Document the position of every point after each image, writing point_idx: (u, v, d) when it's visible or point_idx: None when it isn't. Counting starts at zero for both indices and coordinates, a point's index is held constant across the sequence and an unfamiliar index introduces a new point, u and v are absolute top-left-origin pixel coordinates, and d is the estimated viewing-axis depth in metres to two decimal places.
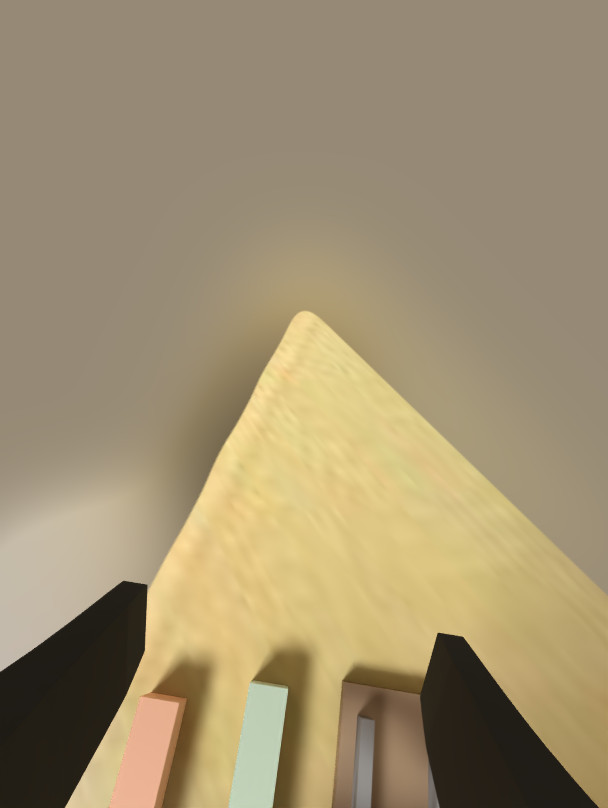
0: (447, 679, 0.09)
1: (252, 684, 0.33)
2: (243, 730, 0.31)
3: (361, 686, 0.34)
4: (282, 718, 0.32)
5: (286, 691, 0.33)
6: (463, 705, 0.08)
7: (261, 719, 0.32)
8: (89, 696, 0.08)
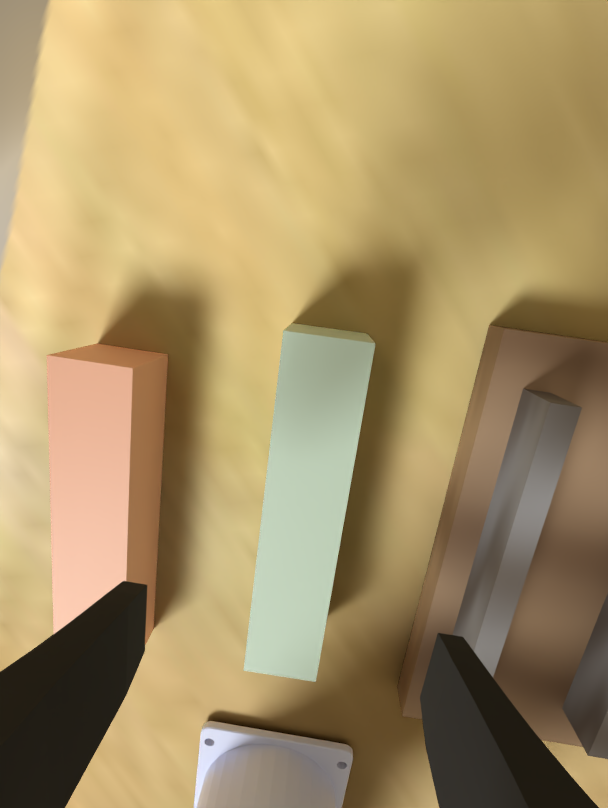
0: (447, 679, 0.09)
1: (289, 334, 0.14)
2: (277, 417, 0.14)
3: (543, 337, 0.15)
4: (361, 398, 0.14)
5: (371, 348, 0.14)
6: (463, 705, 0.08)
7: (315, 399, 0.14)
8: (89, 695, 0.08)
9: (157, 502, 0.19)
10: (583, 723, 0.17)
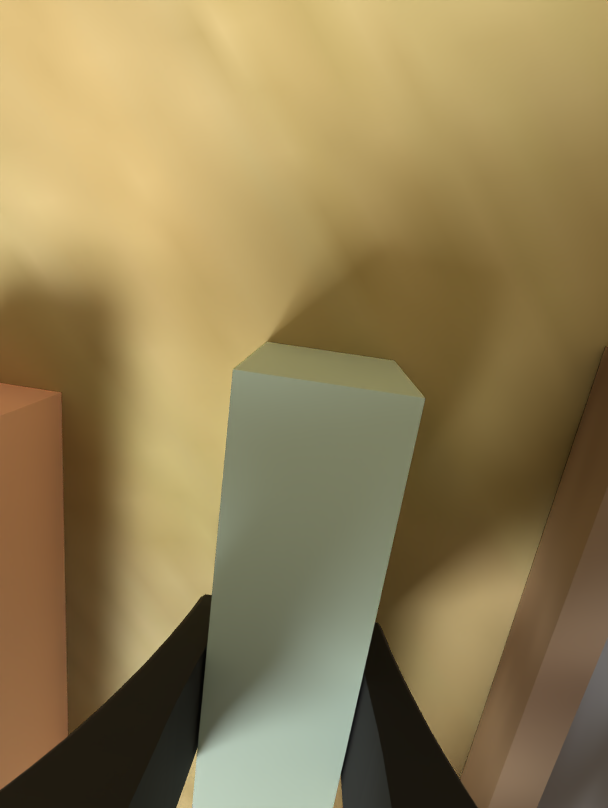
0: None
1: (246, 377, 0.07)
2: (225, 535, 0.07)
3: None
4: (392, 505, 0.07)
5: (415, 407, 0.07)
6: (360, 688, 0.08)
7: (299, 503, 0.07)
8: (191, 714, 0.08)
9: (58, 619, 0.12)
10: None
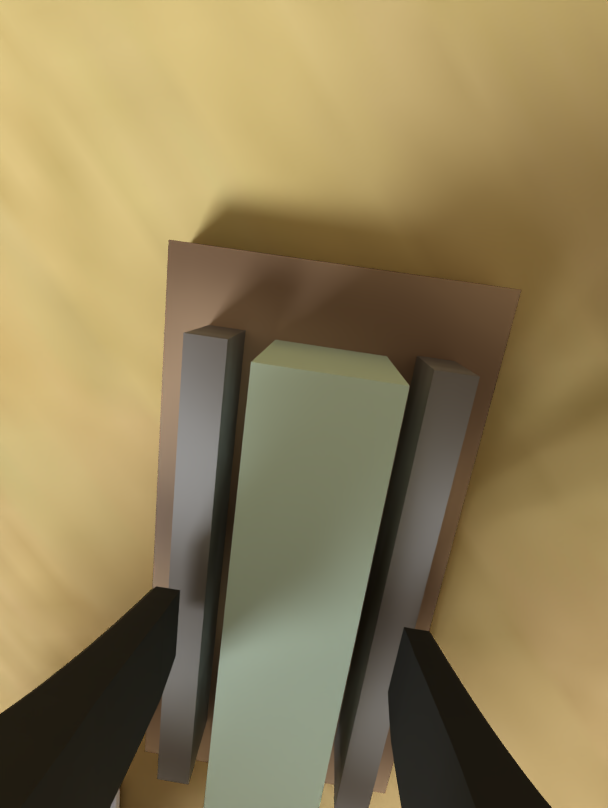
0: (410, 673, 0.09)
1: (261, 368, 0.08)
2: (242, 502, 0.09)
3: (221, 251, 0.11)
4: (383, 475, 0.08)
5: (401, 393, 0.08)
6: (422, 698, 0.08)
7: (304, 475, 0.08)
8: (130, 703, 0.08)
9: None
10: (337, 767, 0.14)
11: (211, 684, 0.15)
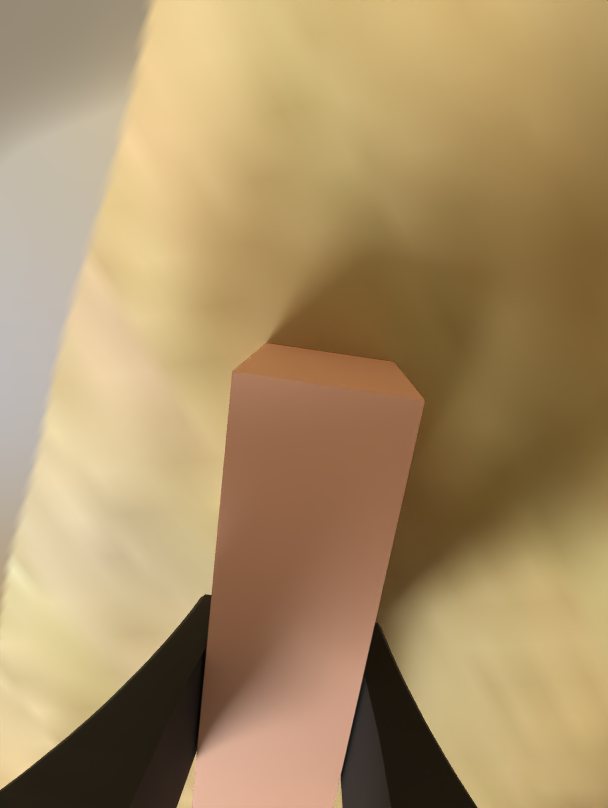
0: None
1: None
2: None
3: None
4: None
5: None
6: (360, 687, 0.08)
7: None
8: (192, 713, 0.08)
9: None
10: None
11: None
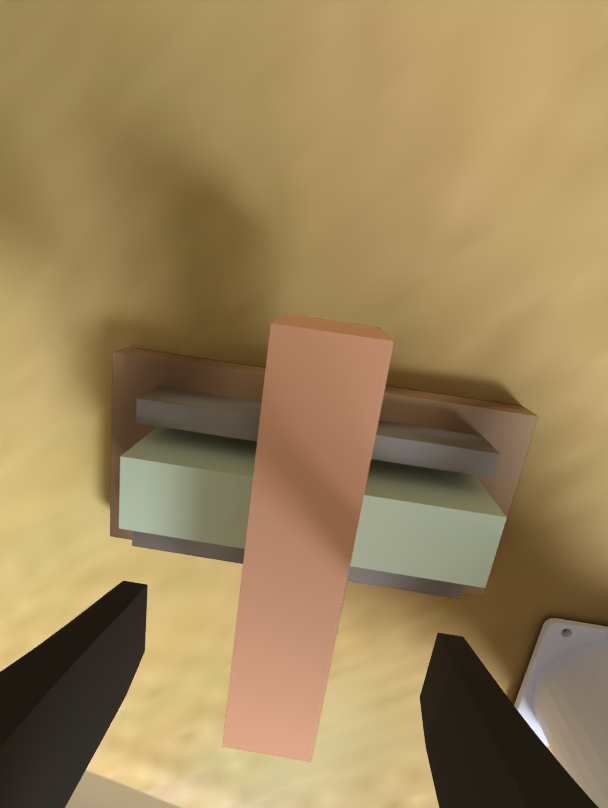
0: (447, 679, 0.09)
1: (121, 523, 0.16)
2: (195, 537, 0.16)
3: (112, 511, 0.20)
4: (170, 467, 0.15)
5: (125, 459, 0.15)
6: (463, 705, 0.08)
7: (175, 506, 0.16)
8: (89, 696, 0.08)
9: None
10: None
11: None
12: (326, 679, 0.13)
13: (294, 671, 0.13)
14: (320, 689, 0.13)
